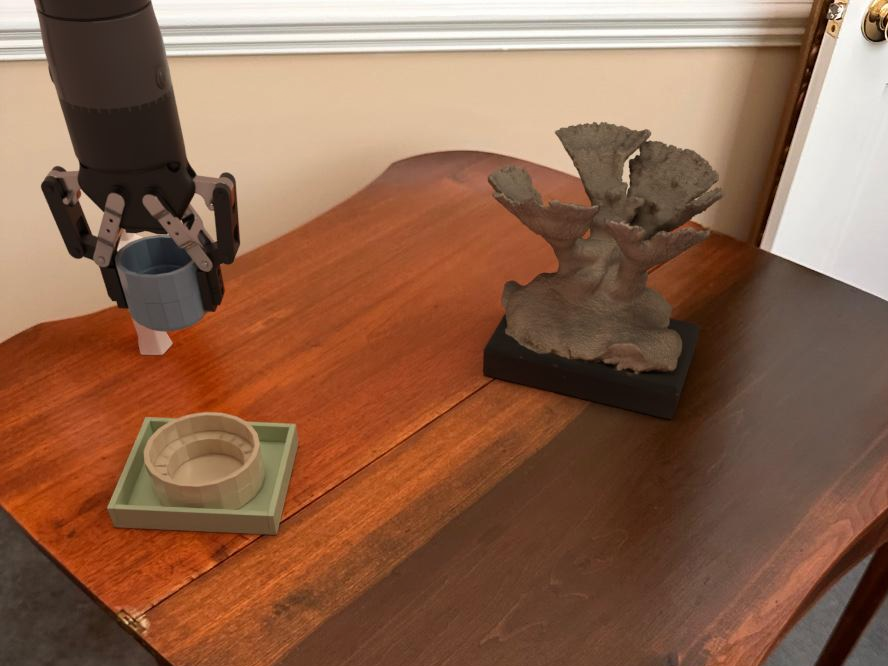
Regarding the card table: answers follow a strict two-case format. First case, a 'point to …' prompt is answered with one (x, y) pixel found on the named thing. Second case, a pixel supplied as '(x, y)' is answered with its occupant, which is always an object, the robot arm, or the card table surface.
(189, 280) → the blue cup
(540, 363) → the coral
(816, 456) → the card table surface
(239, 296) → the card table surface
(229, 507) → the large bowl
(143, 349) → the perfume bottle
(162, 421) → the tray
